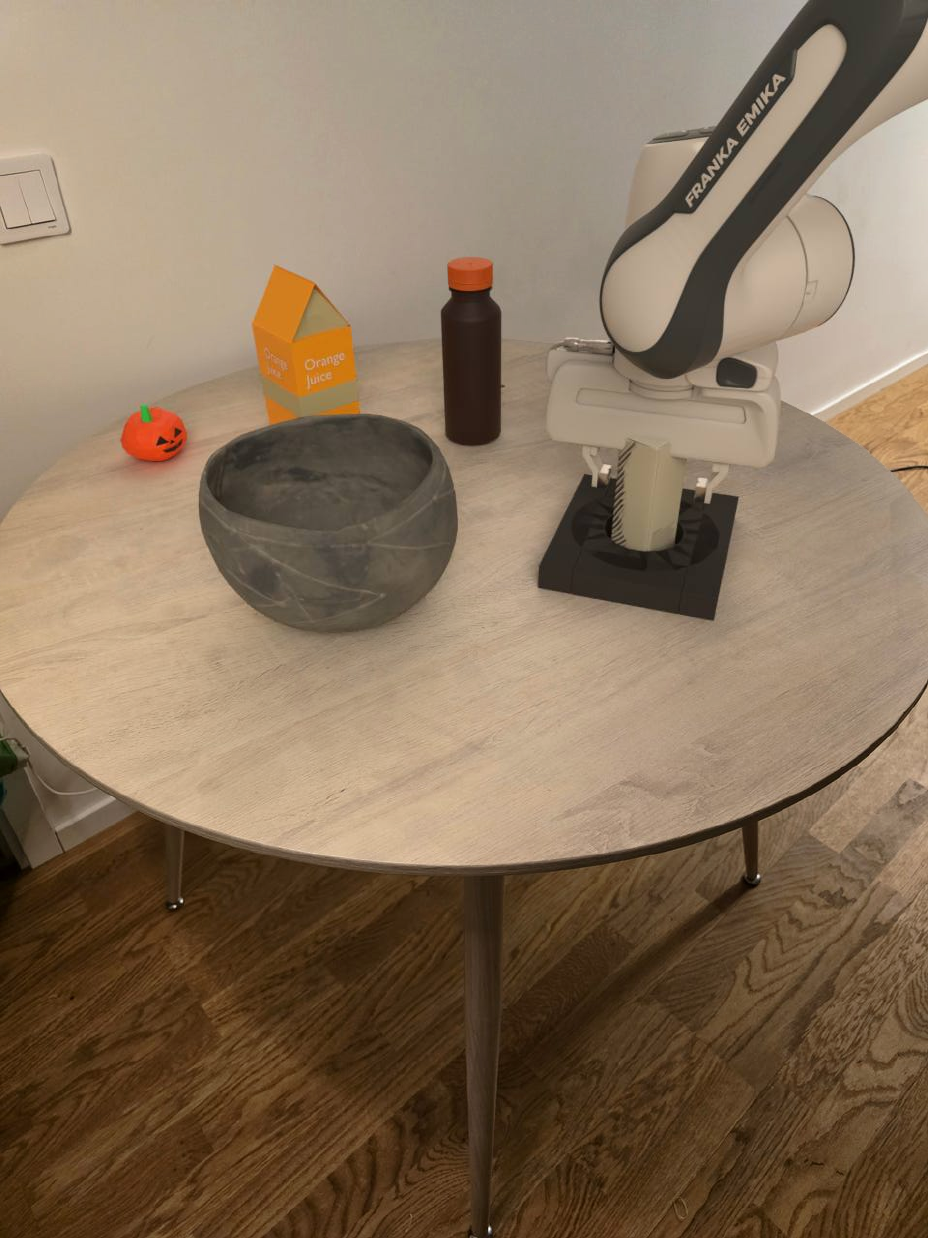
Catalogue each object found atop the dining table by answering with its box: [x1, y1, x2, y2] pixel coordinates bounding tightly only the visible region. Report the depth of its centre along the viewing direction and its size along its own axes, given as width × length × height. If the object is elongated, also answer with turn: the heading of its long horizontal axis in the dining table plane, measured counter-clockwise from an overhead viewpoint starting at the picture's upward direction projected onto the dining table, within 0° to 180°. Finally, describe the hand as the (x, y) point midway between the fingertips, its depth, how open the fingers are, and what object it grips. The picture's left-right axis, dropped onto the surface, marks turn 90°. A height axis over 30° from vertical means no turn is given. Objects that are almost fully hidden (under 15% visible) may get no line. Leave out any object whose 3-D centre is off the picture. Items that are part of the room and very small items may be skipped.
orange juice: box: [251, 264, 361, 426], centre depth 98 cm, size 8×9×20 cm
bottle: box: [440, 256, 502, 447], centre depth 99 cm, size 7×7×20 cm
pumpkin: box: [120, 403, 188, 462], centre depth 101 cm, size 7×8×6 cm
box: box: [610, 438, 688, 551], centre depth 80 cm, size 5×4×13 cm
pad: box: [537, 473, 740, 621], centre depth 84 cm, size 16×18×2 cm
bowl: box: [198, 413, 459, 633], centre depth 74 cm, size 21×21×15 cm
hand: (650, 492), depth 80 cm, fingers open, 8 cm apart
